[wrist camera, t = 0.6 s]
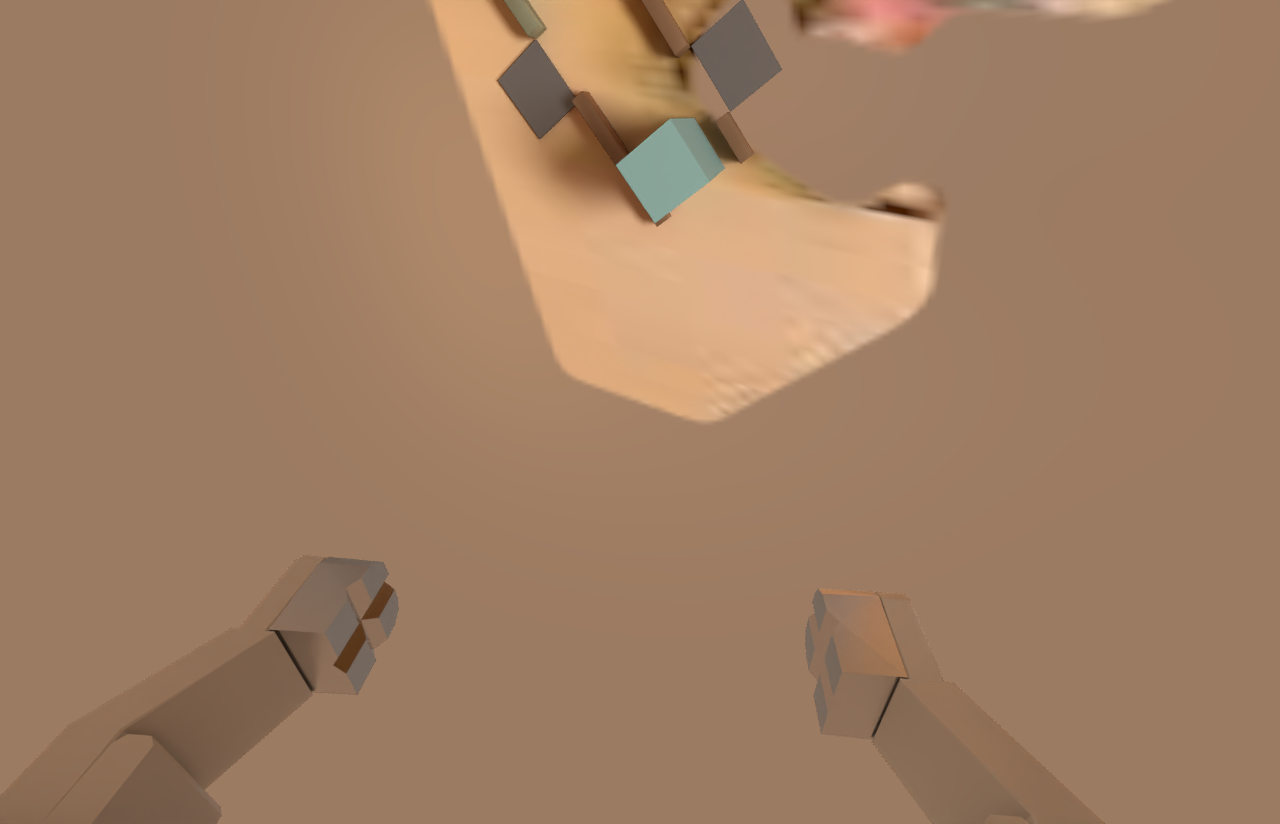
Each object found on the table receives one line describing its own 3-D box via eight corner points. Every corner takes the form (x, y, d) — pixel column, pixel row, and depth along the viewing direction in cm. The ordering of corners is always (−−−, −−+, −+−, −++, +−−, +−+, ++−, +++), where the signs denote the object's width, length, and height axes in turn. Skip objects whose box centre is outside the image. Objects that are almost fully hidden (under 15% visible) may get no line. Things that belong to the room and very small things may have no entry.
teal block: (694, 118, 47) (669, 118, 37) (725, 167, 49) (709, 181, 39) (650, 155, 50) (615, 165, 39) (680, 201, 51) (654, 223, 41)
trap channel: (622, -220, 38) (610, -244, 36) (806, 113, 45) (807, 113, 43) (446, 5, 48) (427, -1, 45) (621, 253, 55) (613, 259, 52)
